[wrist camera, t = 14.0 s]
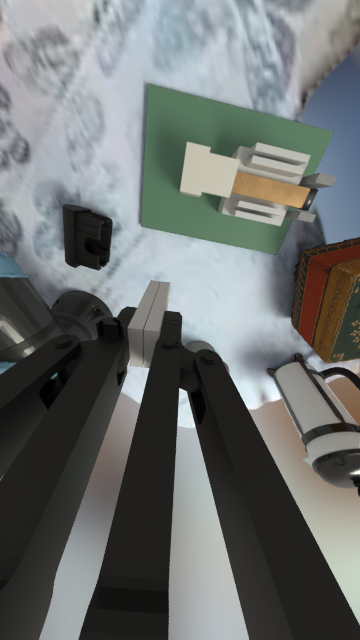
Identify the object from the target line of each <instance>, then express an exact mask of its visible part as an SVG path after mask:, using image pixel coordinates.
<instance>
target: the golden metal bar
mask: <svg viewBox="0 0 360 640" xmlns="http://www.w3.org/2000/svg"><path fill="white" fill-rule="evenodd" d="M317 192H318V189H315V188H305V187H301V186H297V185H292V184H288V183H284V182H280V181H276V180H271V179H267V178H263V177H259V176H255V175H251V174H246V173H242V172H238V171H237V173H236V177H235V180H234V184H233V187H232V191H231V193H234V194H239V195H243V196H248V197H252V198H256V199H261V200H265V201H269V202H274V203H278V204H282V205H287V206H291V207H295V208H298V209H300V210H305V211H308V210H309V208H310V206H311V204H312V202H313V200H314V198H315V196H316V193H317Z"/></svg>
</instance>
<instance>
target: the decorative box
mask: <svg viewBox="0 0 360 640" xmlns="http://www.w3.org/2000/svg"><path fill="white" fill-rule="evenodd" d="M295 267H296V271H295V272H294V276H295V282H296V291H295V299H294V303H293V311H292V314H291V323H292V326H293V327H294V329H296V330H297V332H298V333H299V334H300V335H301V336H302V337H303V339H304V340H305V341H306V342H307V343H308V344H309V345H310V347H312V348H313V350H314V351H315V352H316V353H317V354H318V356H319V357H320V358H321V359H322V360H323V361H324V362H325V363H336V362H343V361H349V360H354V359H360V237H358V238H355V239H349V240H344V241H343V242H338V243H333V244H328V245H324V246H317V247H314V248H312V249H306V250H304V251H303V252H301V254H300V258H299V262H298V263H297V264H296V266H295Z"/></svg>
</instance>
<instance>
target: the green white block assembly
mask: <svg viewBox="0 0 360 640" xmlns="http://www.w3.org/2000/svg"><path fill="white" fill-rule="evenodd" d="M333 133H334V132H333V131H330V130H326V129H322V128H318V127H314V126H310V125H306V124H302V123H299V122H295V121H291V120H287V119H283V118H279V117H275V116H272V115H268V114H264V113H260V112H256V111H252V110H248V109H245V108H241V107H237V106H233V105H229V104H225V103H221V102H217V101H214V100H210V99H206V98H202V97H198V96H194V95H190V94H187V93H183V92H179V91H175V90H171V89H167V88H163V87H160V86H156V85H152V84H148V96H147V116H146V136H145V155H144V175H143V194H142V214H141V227H146V228H150V229H155V230H160V231H165V232H170V233H174V234H179V235H184V236H189V237H194V238H198V239H203V240H208V241H213V242H218V243H222V244H227V245H232V246H237V247H242V248H246V249H251V250H256V251H261V252H266V253H270V254H275V255H276V254H277V252H278V250H279V248H280V246H281V244H282V241H283V239H284V237H285V235H286V233H287V231H288V229H289V227H290V224H291V222H292V220H297V221H304V222H311V223H313V221H314V219H315V217H316V215H314V214H310V213H305V212H301V211H297V210H298V208H295V207H291V206H287V205H282V204H278V203H274V202H269V201H265V200H261V199H256V198H252V197H248V196H243V195H239V194H234V193H231V195H230V198H226V197H221V196H217V195H212V194H208V193H204V192H202V193H201V196H200V197H199V198H197V197H193V196H188V195H184V194H182V193H181V192H180V187H181V180H182V173H183V166H184V159H185V152H186V146H187V142H191V143H195V144H199V145H203V146H207V147H211V148H210V153H213V154H217V155H221V156H225V157H230V158H234V159H238V160H240V162H239V166H238V169H237V171H238V172H242V173H246V174H251V175H255V176H259V177H263V178H267V179H271V180H276V181H280V182H284V183H288V184H292V185H297V186H301V187H305V188H322V187H330V186H332V184H333V183H334V181H335V179H336V177H335V176H330V175H326V174H322V173H317V174H315V171H316V169H317V167H318V165H319V163H320V161H321V159H322V157H323V154H324V152H325V150H326V148H327V146H328V144H329V142H330V140H331V137H332V135H333Z"/></svg>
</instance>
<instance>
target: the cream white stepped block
mask: <svg viewBox="0 0 360 640" xmlns="http://www.w3.org/2000/svg"><path fill="white" fill-rule="evenodd" d="M210 148H211V147H207V146H203V145H199V144H195V143H191V142H187V146H186V152H185V159H184V166H183V173H182V180H181V187H180V192H181V193H182V194H184V195H188V196H193V197H197V198H199V197H200V196H201V193H202V192H204V193H208V194H212V195H217V196H221V197H226V198H230V195H231V191H232V187H233V184H234V180H235V177H236V173H237V169H238V166H239V162H240V160H238V159H234V158H230V157H225V156H221V155H217V154H213V153H210Z"/></svg>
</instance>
